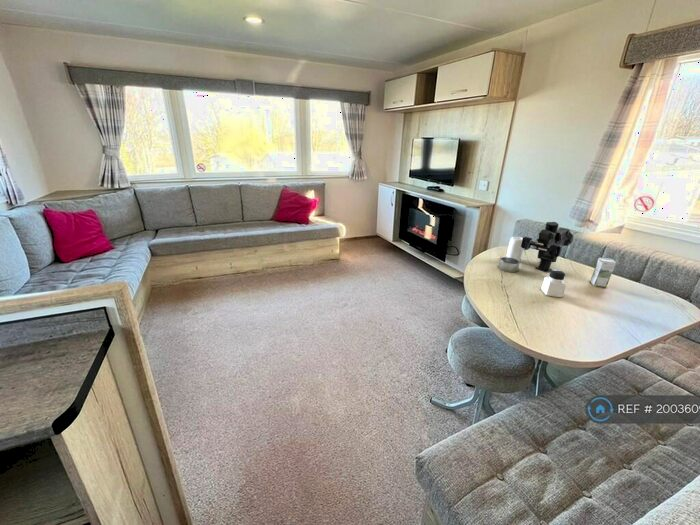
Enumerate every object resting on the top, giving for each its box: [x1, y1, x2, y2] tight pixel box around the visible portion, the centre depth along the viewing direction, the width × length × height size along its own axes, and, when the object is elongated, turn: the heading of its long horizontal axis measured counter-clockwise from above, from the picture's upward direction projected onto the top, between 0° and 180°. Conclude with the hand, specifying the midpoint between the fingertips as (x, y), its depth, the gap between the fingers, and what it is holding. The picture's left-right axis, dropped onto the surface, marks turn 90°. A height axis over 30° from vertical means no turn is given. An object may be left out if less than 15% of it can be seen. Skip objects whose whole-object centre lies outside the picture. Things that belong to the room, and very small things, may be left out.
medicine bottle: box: [540, 269, 567, 298], centre depth 151 cm, size 7×7×12 cm
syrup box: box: [589, 257, 617, 288], centre depth 163 cm, size 6×6×14 cm
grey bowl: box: [497, 256, 521, 273], centre depth 181 cm, size 10×10×5 cm
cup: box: [506, 236, 525, 261], centre depth 193 cm, size 8×8×14 cm
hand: (534, 251), depth 161 cm, fingers open, 9 cm apart
